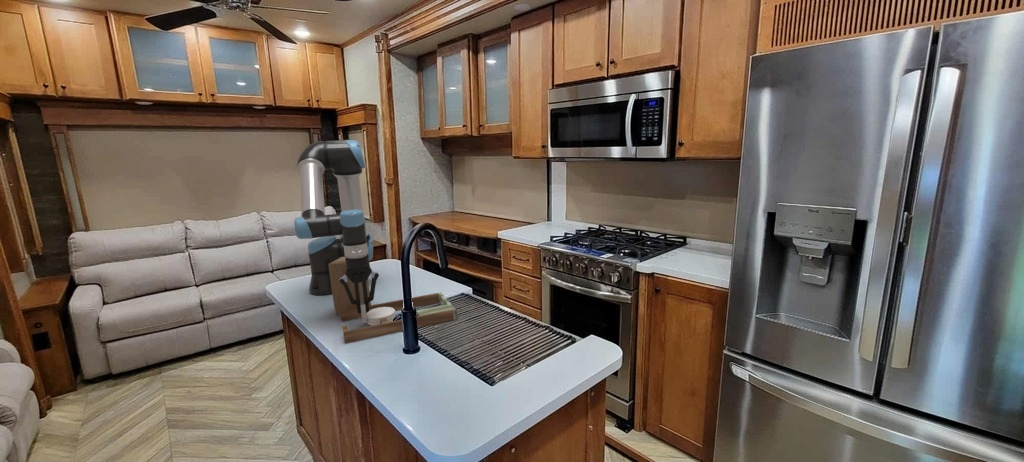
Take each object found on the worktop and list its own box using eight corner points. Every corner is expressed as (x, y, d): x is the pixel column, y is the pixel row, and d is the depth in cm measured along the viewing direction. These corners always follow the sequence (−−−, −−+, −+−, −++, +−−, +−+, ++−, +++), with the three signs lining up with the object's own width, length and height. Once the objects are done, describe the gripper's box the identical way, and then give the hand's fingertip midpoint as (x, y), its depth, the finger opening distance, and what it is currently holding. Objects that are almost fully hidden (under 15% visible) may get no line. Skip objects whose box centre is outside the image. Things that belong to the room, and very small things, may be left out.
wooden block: (371, 305, 167) (365, 256, 163) (360, 315, 157) (353, 263, 153) (347, 305, 168) (341, 256, 164) (334, 315, 158) (327, 263, 154)
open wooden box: (341, 320, 153) (339, 311, 153) (441, 300, 168) (440, 292, 168) (344, 343, 135) (343, 332, 134) (457, 319, 150) (456, 309, 149)
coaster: (397, 314, 157) (396, 305, 157) (394, 325, 148) (393, 315, 147) (369, 316, 156) (368, 307, 155) (364, 328, 146) (363, 318, 145)
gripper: (336, 261, 138) (345, 329, 142) (378, 255, 143) (385, 321, 147) (335, 256, 144) (344, 321, 149) (375, 250, 149) (382, 313, 154)
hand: (364, 321), depth 148 cm, fingers closed
